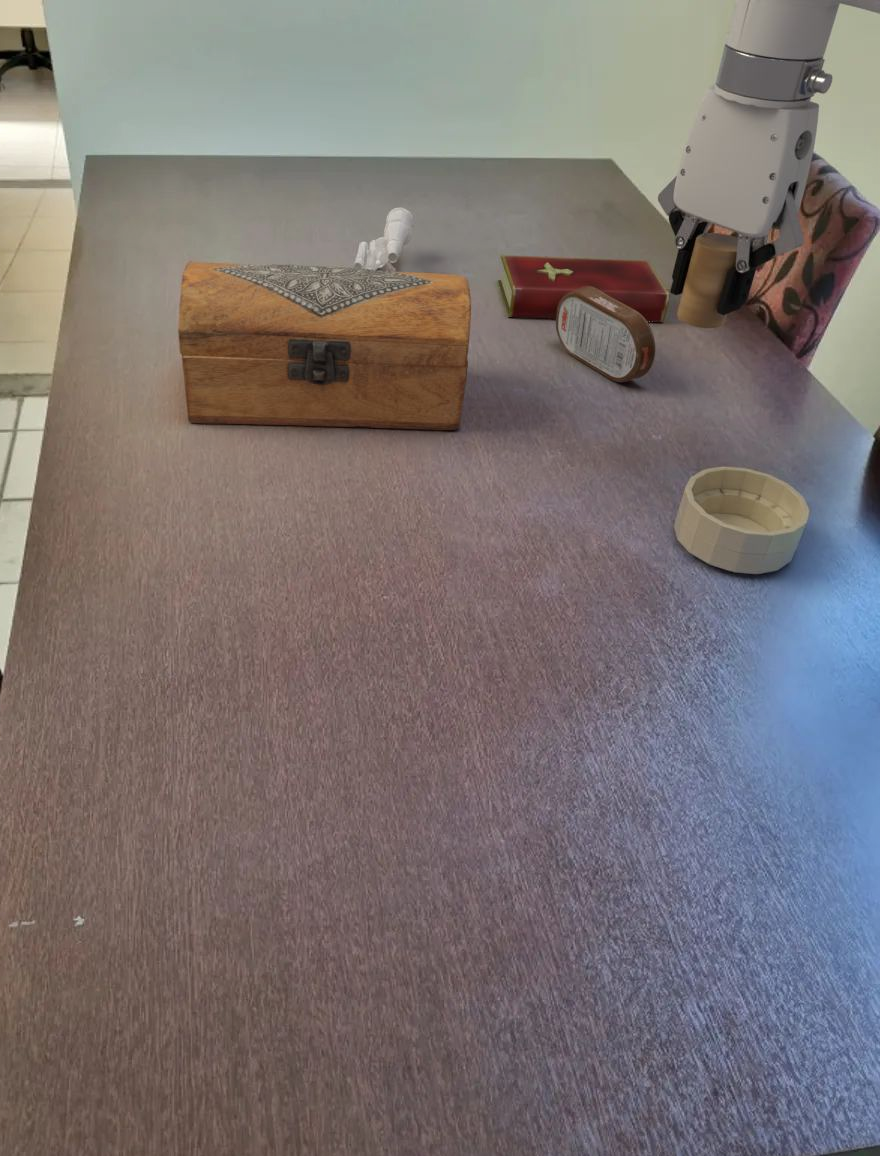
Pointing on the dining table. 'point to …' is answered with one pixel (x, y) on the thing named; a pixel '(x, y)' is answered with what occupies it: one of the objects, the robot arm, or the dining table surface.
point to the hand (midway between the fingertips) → (705, 298)
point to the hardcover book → (579, 284)
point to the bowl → (741, 519)
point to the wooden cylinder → (707, 280)
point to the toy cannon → (387, 242)
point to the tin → (605, 334)
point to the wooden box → (323, 346)
